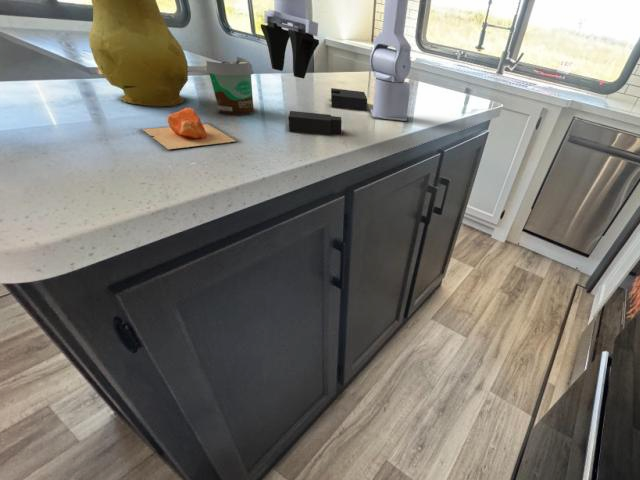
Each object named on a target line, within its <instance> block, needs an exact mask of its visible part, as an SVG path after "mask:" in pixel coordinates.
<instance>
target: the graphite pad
mask: <svg viewBox="0 0 640 480" xmlns="http://www.w3.org/2000/svg"><path fill="white" fill-rule="evenodd" d="M330 101H331V102H330V103H331V108H336V109H346V110H355V111H364V112H367V110H368V98H367V96H366V93H365V91H359V90H351V89H343V88H335V87H331V88H330Z"/></svg>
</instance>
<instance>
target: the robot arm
mask: <svg viewBox="0 0 640 480" xmlns="http://www.w3.org/2000/svg"><path fill="white" fill-rule="evenodd" d="M273 3H274V5H273V6H274V7H273V9H268V10H264V11H263V15H264V16H263V20H264V21H263V22H264V23H260V30H261V31H262V34H263V37H264V39H265V42H266V45H267V50H268V54H269V60H270V66H271V69H272V70H276V71H280V72H283V71H284V67H285V59H286V51H287V46H288V42H289V41H290V44H291V53H292V73H293V77H295V78H298V79H305V78H306V75H307V71H308V68H309V65H310V61H311V59H312V57H313V54H314V53H315V51H316V49H317V48H318V46H319V45H320V40H319V39H317V38H315V37H318V32H319V23H318V22H316V21H313V20H310V19H307V10H308V9H307V7H308V0H274V1H273ZM408 4H409V0H384V7H383V9H384V10H383V20H382V27H381V29H382V30H381V31H380V33H379V34H378V35H376V37H374V39H373V47H372V50H371V52H370V56H369V66H370V70H371V71H372V73H373V77H374V94H373V108H370V114H371V116H372V118H373V119H384V120H390V121H391V120H392V121H403V122H407V121H408V118H407V116H408V111H409V110H408V109H409V103H410V94H411V93H410V90H411V89H410V83H409V82H408V81H405V80H406V79H407V78H408V76H409V74H410V71H411V66H412V61H411V50H412V46H411V45H410V43H409V41H408V40H407V38H406V37H405V27H406V20H407V12H408ZM288 24H292V25H288ZM389 47H392V48H389Z"/></svg>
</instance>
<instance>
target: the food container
mask: <svg viewBox="0 0 640 480" xmlns="http://www.w3.org/2000/svg"><path fill="white" fill-rule="evenodd" d="M206 74H209V77H210V81H211V85H212V89H213V93H214V96H215V100H216V104H217V107H218V111H219V114H222V115H230V116H243V115H244V116H245V115H250V114H252V113H254V98H253V83H252V75H254V69H253V65H252V63H251V62H250V60H248V59H246V58H243V57H238V56H237V57H236V61H234V62H232V61H231V62H230V61H221V62H218V61H217V62H216V61H209V60H206Z"/></svg>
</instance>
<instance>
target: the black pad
mask: <svg viewBox="0 0 640 480" xmlns="http://www.w3.org/2000/svg"><path fill="white" fill-rule="evenodd" d="M287 118H288V129H289V132H292V133H304V134H313V135H314V134H315V135H327V136H332V135H342V116H335V115H331V114H326V113H318V112H317V113H316V112H307V111H296V110H290V111H289V113H288V117H287Z"/></svg>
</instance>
